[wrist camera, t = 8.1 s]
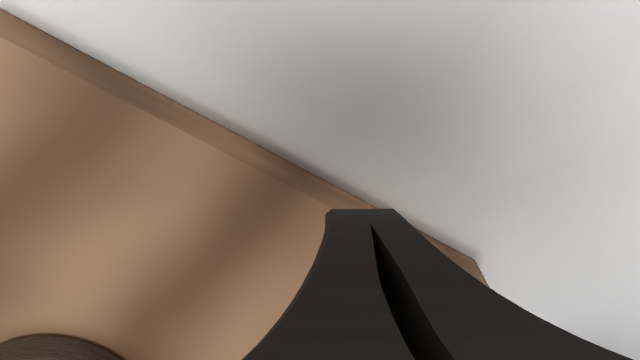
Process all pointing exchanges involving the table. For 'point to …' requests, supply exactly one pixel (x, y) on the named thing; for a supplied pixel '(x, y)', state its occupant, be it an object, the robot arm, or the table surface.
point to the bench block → (143, 214)
